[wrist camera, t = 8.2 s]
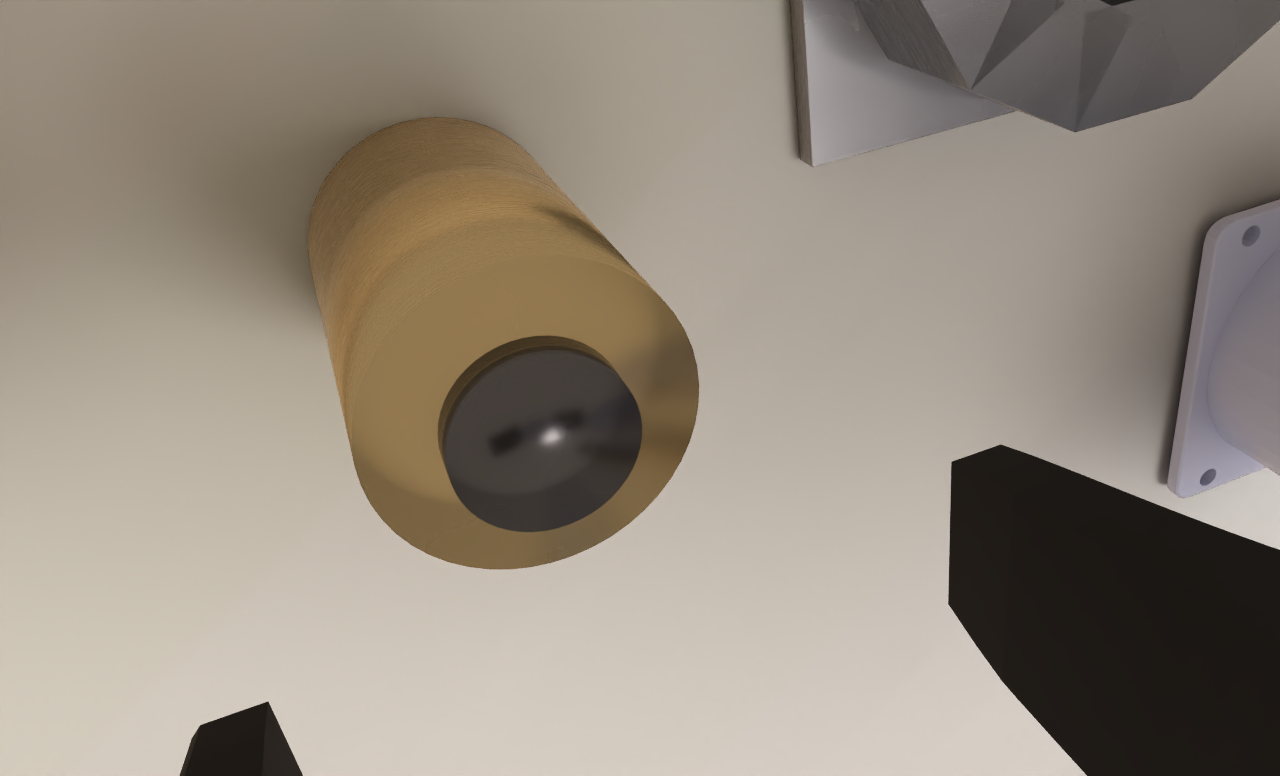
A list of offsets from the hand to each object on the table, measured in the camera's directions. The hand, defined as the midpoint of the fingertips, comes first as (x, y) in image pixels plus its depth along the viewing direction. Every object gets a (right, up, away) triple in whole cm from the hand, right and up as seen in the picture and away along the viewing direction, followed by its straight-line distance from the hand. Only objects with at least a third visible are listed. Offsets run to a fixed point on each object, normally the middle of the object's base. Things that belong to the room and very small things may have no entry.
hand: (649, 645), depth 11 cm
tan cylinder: (-4, +5, +8) cm, 10 cm away
